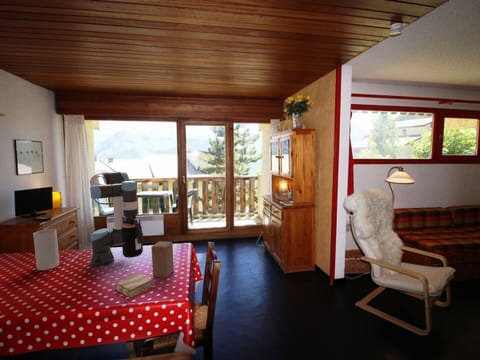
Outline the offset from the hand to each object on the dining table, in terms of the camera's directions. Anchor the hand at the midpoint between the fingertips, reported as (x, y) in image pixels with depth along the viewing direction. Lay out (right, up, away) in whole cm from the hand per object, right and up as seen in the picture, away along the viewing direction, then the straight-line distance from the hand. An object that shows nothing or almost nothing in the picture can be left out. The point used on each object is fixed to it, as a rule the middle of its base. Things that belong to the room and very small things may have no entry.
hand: (132, 246), depth 143 cm
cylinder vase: (-72, -23, +32) cm, 82 cm away
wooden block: (+12, -23, +19) cm, 32 cm away
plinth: (0, -24, +3) cm, 24 cm away
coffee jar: (0, -5, 0) cm, 5 cm away
